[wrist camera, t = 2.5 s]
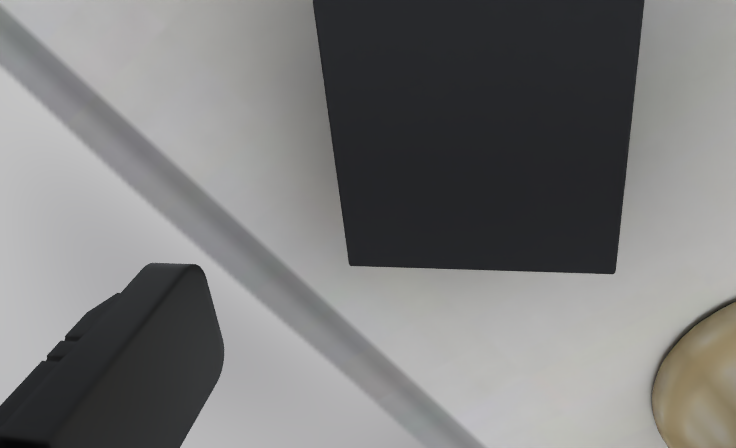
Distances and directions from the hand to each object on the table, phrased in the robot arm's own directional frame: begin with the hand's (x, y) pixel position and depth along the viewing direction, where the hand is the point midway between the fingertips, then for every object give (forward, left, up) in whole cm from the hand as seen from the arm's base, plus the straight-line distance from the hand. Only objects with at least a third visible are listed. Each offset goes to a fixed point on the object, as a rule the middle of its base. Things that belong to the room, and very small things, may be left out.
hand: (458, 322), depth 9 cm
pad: (0, +3, -8) cm, 8 cm away
